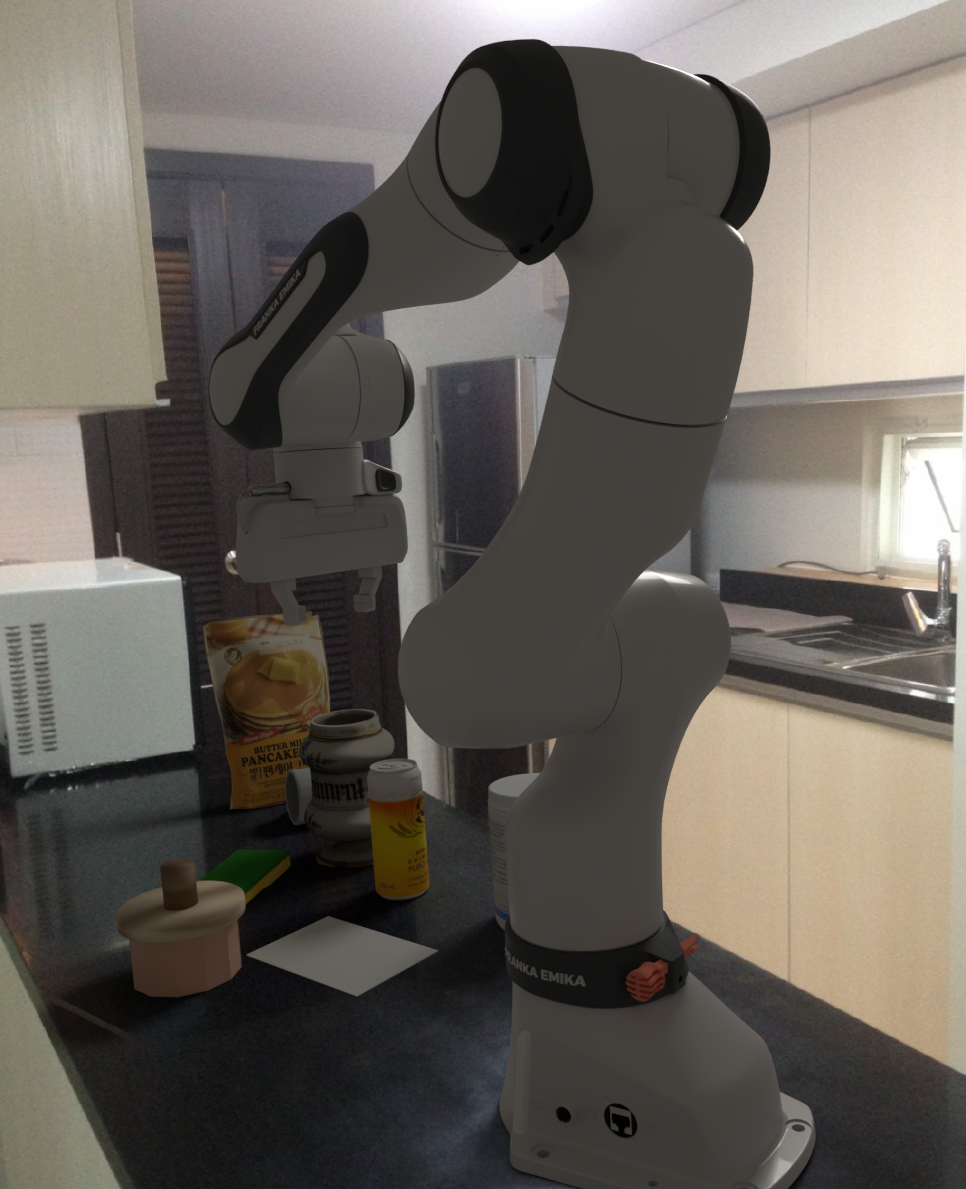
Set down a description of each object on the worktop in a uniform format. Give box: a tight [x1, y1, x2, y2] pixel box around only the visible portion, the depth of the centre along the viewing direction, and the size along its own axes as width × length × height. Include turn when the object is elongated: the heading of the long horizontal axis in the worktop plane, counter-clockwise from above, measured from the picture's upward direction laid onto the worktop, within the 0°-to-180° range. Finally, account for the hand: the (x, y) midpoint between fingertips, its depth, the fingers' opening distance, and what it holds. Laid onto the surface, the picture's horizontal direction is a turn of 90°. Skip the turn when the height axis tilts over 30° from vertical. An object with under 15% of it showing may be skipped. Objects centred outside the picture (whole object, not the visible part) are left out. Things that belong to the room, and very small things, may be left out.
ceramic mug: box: [285, 768, 312, 826], centre depth 153 cm, size 11×8×8 cm
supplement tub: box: [487, 772, 541, 931], centre depth 112 cm, size 10×10×15 cm
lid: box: [115, 857, 247, 943], centre depth 104 cm, size 12×12×5 cm
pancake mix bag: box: [201, 610, 331, 810], centre depth 162 cm, size 7×19×28 cm, turn 119°
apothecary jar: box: [299, 708, 395, 869], centre depth 135 cm, size 12×12×18 cm
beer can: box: [367, 758, 430, 901], centre depth 122 cm, size 6×6×15 cm
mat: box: [245, 915, 439, 997], centre depth 107 cm, size 16×11×1 cm
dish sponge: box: [198, 849, 292, 905], centre depth 129 cm, size 7×14×2 cm, turn 168°
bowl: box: [128, 919, 243, 998], centre depth 105 cm, size 10×10×6 cm
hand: (331, 617), depth 109 cm, fingers open, 8 cm apart
